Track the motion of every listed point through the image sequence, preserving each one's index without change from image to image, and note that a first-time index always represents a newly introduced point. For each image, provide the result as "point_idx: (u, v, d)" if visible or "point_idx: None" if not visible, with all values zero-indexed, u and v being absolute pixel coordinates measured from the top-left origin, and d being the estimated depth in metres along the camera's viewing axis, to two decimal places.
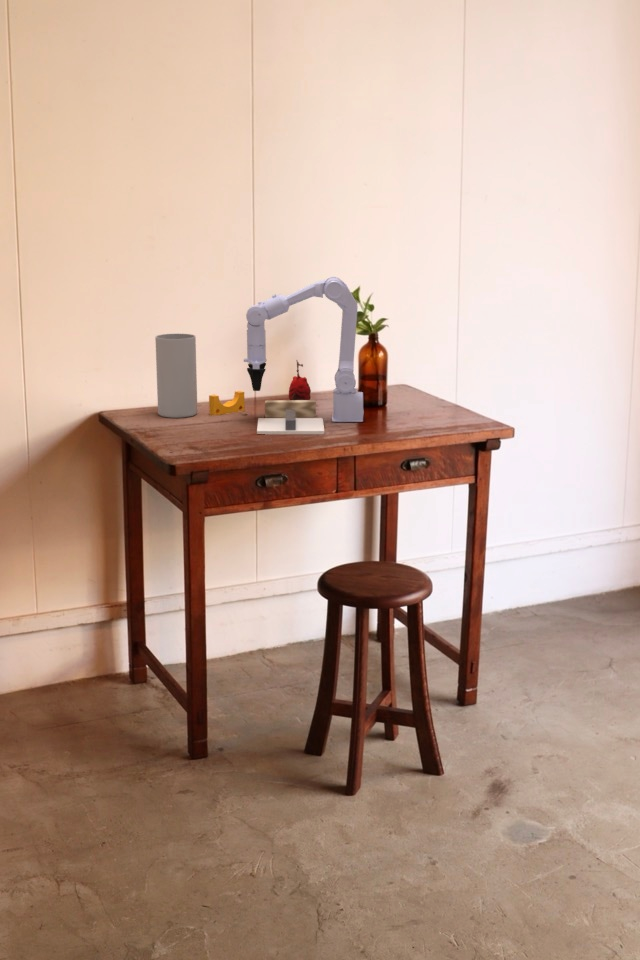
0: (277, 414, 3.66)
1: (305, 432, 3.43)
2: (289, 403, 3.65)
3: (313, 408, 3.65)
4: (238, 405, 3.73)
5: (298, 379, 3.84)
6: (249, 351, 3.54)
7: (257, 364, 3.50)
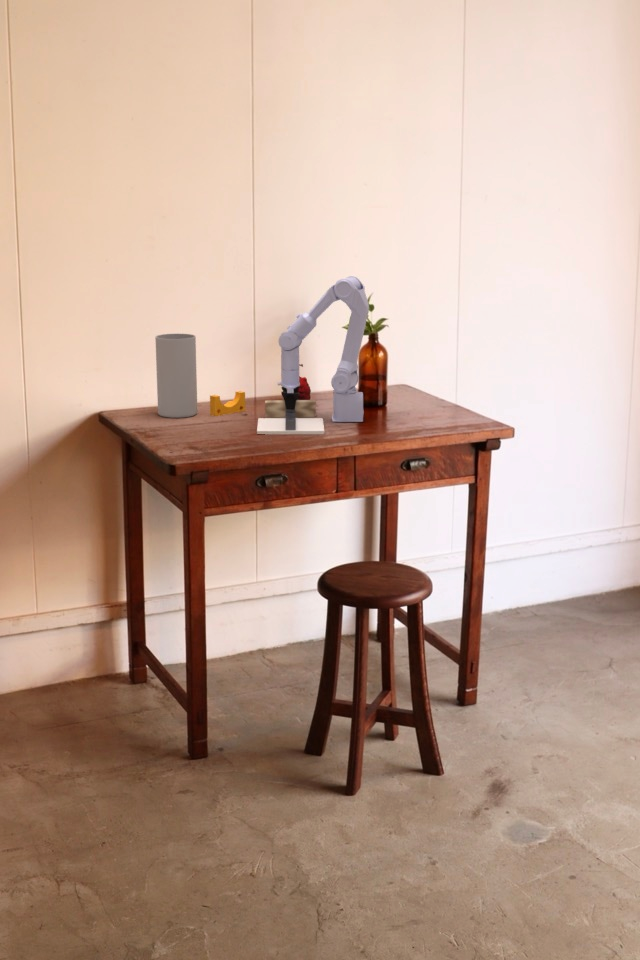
0: (277, 414, 3.66)
1: (305, 432, 3.43)
2: None
3: (314, 408, 3.66)
4: (239, 405, 3.73)
5: None
6: (283, 375, 3.62)
7: (291, 388, 3.58)
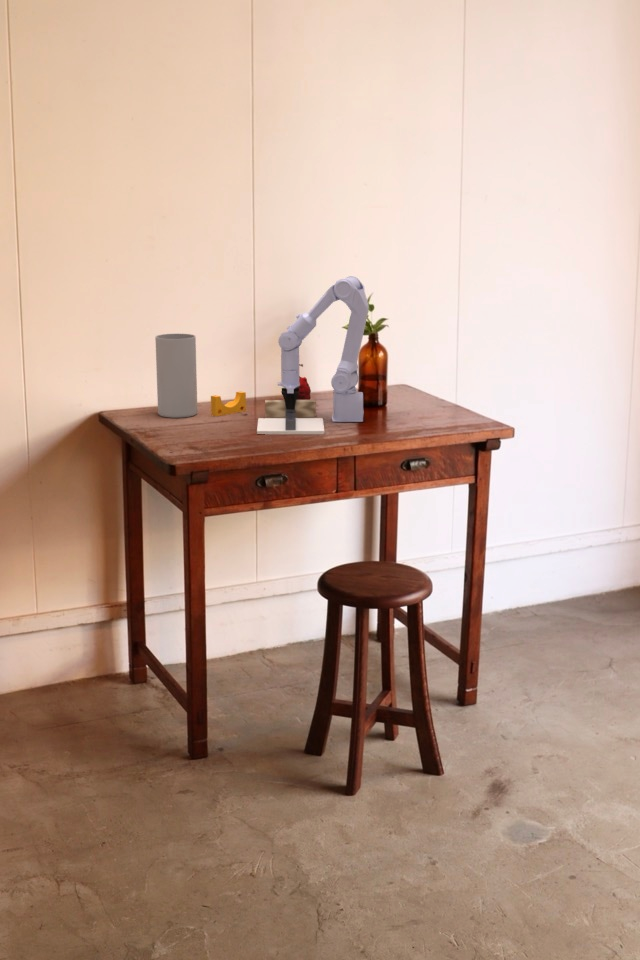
0: (277, 414, 3.66)
1: (305, 432, 3.43)
2: None
3: (313, 408, 3.66)
4: (239, 405, 3.72)
5: None
6: (283, 375, 3.62)
7: (291, 388, 3.58)
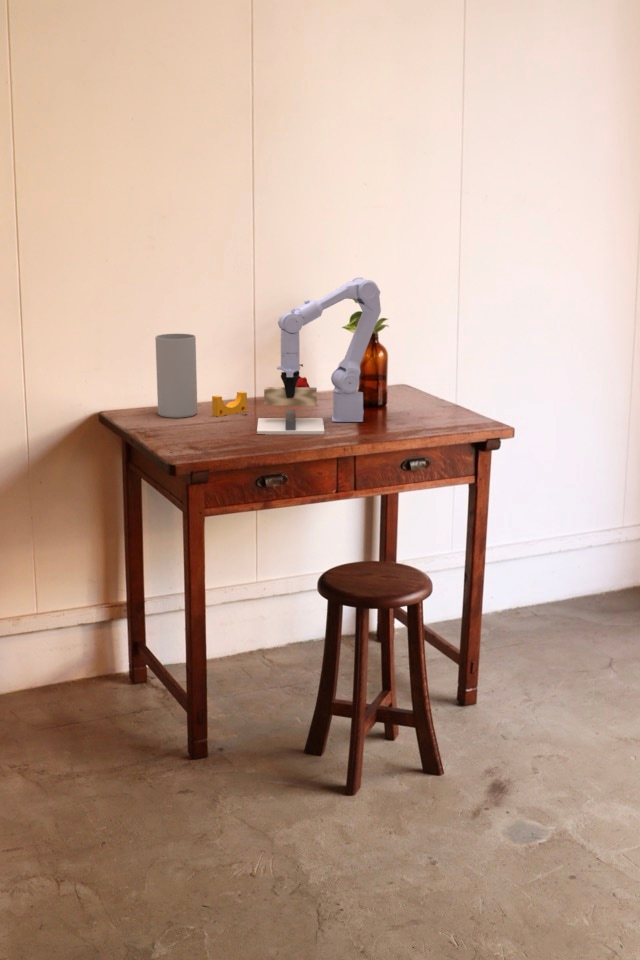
0: (277, 401, 3.54)
1: (305, 432, 3.43)
2: None
3: (314, 396, 3.53)
4: (241, 406, 3.72)
5: (298, 379, 3.84)
6: (283, 359, 3.50)
7: (291, 372, 3.46)
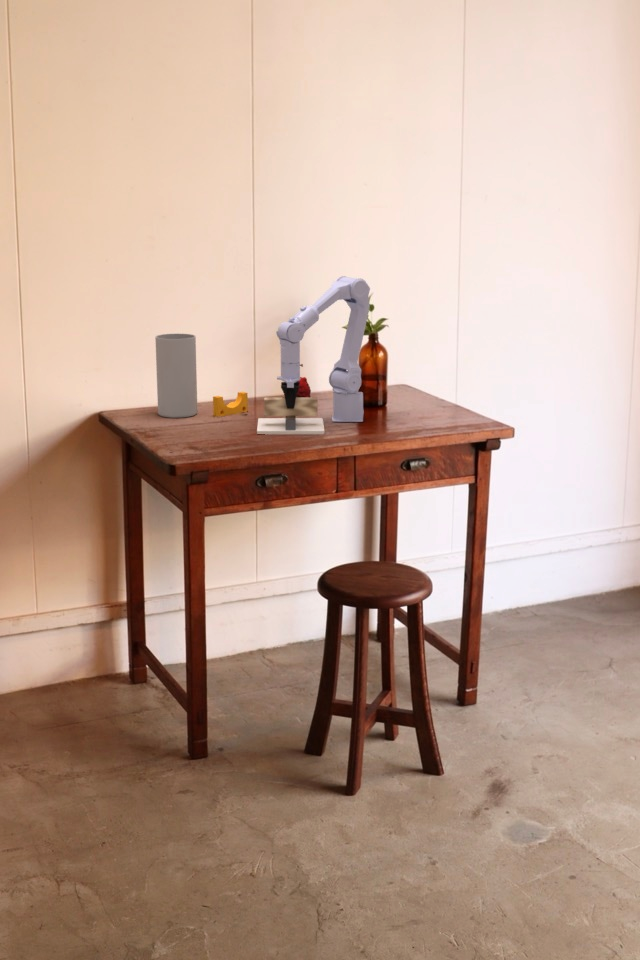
0: (277, 412, 3.48)
1: (305, 432, 3.43)
2: None
3: (315, 406, 3.48)
4: (241, 406, 3.71)
5: None
6: (283, 369, 3.45)
7: (291, 382, 3.40)
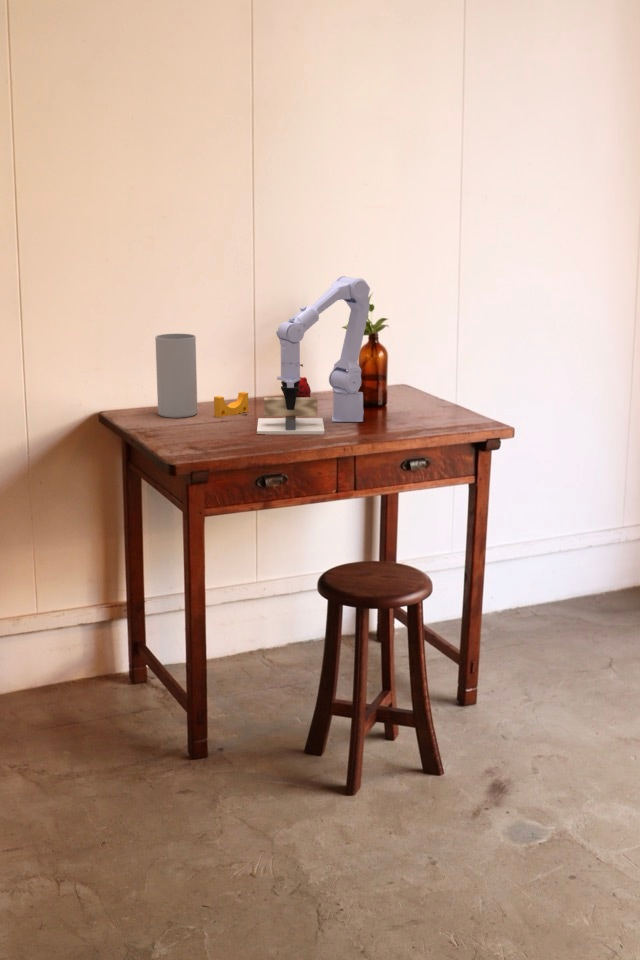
0: (277, 412, 3.48)
1: (305, 432, 3.43)
2: None
3: (315, 406, 3.48)
4: (242, 406, 3.71)
5: None
6: (283, 369, 3.45)
7: (291, 382, 3.40)
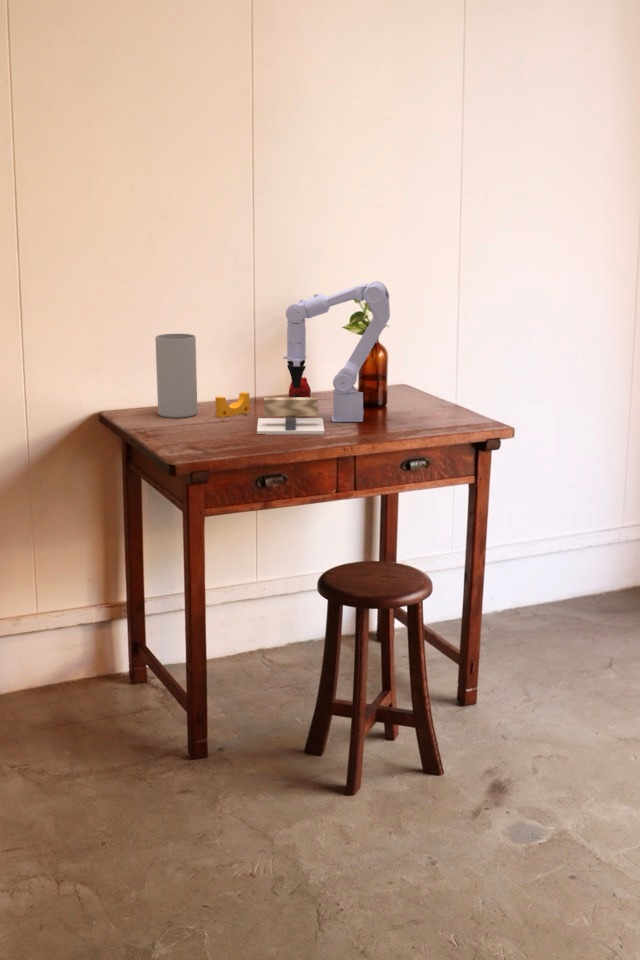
0: (277, 412, 3.48)
1: (305, 432, 3.43)
2: (289, 400, 3.47)
3: (315, 406, 3.48)
4: (243, 406, 3.71)
5: None
6: (289, 348, 3.57)
7: (298, 361, 3.53)
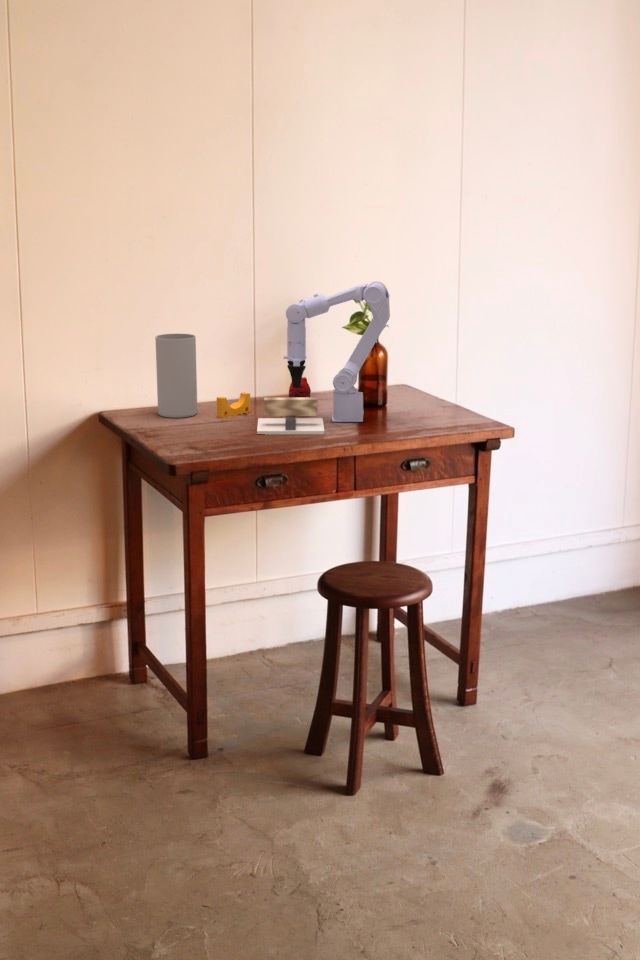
0: (277, 412, 3.48)
1: (305, 432, 3.43)
2: (289, 400, 3.47)
3: (315, 406, 3.48)
4: (244, 407, 3.70)
5: None
6: (289, 348, 3.57)
7: (298, 361, 3.53)
